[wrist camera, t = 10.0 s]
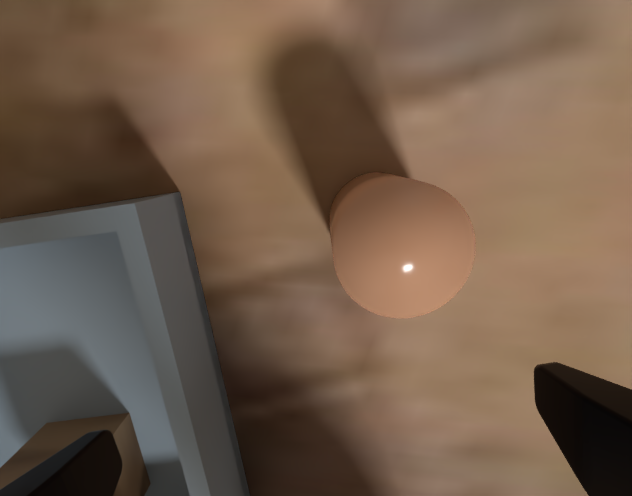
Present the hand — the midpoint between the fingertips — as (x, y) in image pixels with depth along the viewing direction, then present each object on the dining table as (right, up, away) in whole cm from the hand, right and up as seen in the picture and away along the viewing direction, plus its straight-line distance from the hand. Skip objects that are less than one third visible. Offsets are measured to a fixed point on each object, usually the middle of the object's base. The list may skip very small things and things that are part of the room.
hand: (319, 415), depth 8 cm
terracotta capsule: (+3, +5, +12) cm, 14 cm away
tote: (-14, -4, +15) cm, 20 cm away
